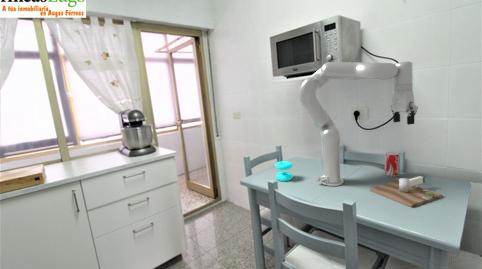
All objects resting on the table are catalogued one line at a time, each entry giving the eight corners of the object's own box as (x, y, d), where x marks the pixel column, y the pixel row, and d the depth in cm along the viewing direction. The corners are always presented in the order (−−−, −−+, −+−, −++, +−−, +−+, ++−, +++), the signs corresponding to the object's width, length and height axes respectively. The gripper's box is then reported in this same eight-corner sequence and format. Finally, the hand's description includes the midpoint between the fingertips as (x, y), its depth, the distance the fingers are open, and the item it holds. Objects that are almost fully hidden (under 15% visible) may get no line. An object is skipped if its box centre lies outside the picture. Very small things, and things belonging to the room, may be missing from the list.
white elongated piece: (405, 192, 112) (405, 181, 111) (396, 189, 116) (397, 179, 115) (427, 185, 117) (427, 175, 116) (418, 183, 121) (419, 172, 120)
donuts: (272, 162, 149) (287, 159, 152) (273, 177, 150) (287, 175, 153) (279, 166, 139) (295, 163, 142) (280, 183, 141) (295, 179, 144)
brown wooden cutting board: (411, 207, 101) (411, 204, 101) (369, 190, 121) (369, 187, 121) (444, 196, 108) (444, 193, 108) (398, 182, 128) (399, 179, 128)
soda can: (381, 174, 141) (382, 152, 139) (393, 172, 142) (394, 151, 139) (390, 178, 134) (390, 155, 132) (402, 176, 135) (403, 154, 132)
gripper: (384, 89, 126) (385, 122, 129) (408, 88, 109) (408, 126, 112) (398, 87, 126) (398, 120, 129) (424, 86, 109) (424, 124, 112)
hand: (403, 123), depth 120 cm, fingers open, 9 cm apart
